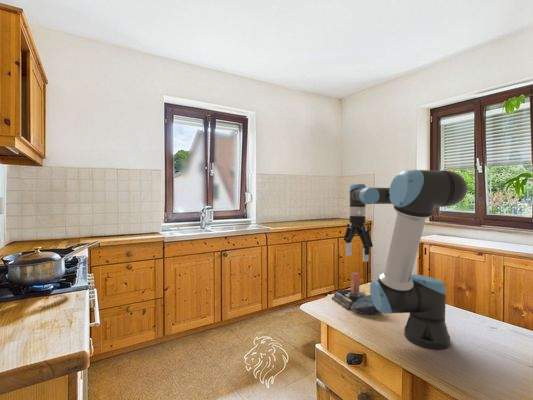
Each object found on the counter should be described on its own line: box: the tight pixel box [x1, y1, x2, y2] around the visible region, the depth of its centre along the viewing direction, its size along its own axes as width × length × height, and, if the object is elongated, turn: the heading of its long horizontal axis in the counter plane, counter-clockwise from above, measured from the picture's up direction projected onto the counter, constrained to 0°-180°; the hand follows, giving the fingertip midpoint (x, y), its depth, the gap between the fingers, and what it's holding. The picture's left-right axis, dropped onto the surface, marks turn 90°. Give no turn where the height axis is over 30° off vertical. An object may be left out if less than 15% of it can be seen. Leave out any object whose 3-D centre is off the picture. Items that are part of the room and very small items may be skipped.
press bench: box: [331, 288, 368, 311], centre depth 142 cm, size 14×16×4 cm
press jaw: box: [345, 271, 366, 303], centre depth 140 cm, size 4×9×14 cm, turn 107°
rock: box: [351, 294, 378, 316], centre depth 130 cm, size 16×8×10 cm
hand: (356, 258), depth 140 cm, fingers open, 13 cm apart
